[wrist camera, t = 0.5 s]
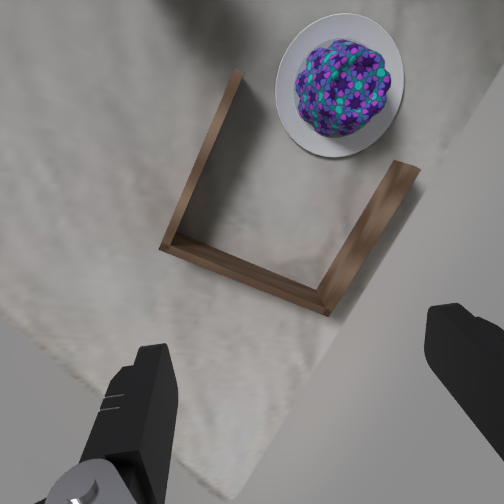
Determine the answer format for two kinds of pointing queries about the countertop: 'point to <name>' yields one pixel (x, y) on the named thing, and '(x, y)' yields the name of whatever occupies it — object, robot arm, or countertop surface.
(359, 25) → the pudding
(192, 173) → the box
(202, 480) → the countertop surface
